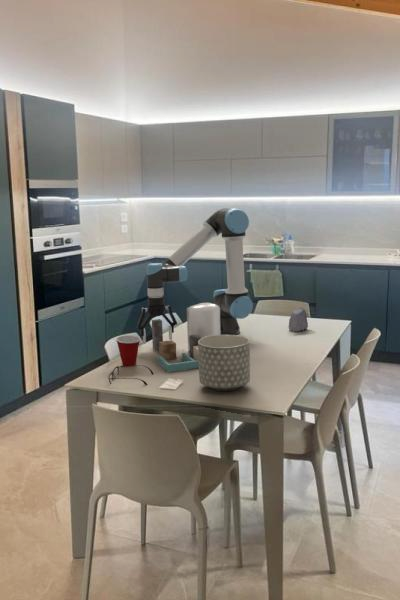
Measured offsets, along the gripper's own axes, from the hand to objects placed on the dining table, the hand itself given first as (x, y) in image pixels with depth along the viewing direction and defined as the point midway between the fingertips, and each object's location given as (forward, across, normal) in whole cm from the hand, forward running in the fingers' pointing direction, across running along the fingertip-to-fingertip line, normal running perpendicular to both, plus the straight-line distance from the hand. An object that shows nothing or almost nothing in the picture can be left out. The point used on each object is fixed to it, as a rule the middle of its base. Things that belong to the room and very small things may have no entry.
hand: (157, 341), depth 271 cm
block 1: (+4, 0, +9) cm, 10 cm away
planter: (+4, -8, +64) cm, 65 cm away
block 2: (+4, -11, +27) cm, 29 cm away
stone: (+4, -78, -4) cm, 78 cm away
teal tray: (+4, -6, +28) cm, 29 cm away
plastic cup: (+4, +18, +20) cm, 27 cm away
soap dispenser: (+4, -22, +10) cm, 24 cm away
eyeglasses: (+5, +22, +40) cm, 46 cm away
